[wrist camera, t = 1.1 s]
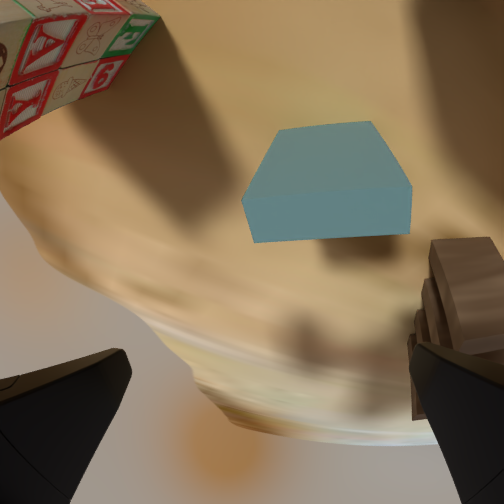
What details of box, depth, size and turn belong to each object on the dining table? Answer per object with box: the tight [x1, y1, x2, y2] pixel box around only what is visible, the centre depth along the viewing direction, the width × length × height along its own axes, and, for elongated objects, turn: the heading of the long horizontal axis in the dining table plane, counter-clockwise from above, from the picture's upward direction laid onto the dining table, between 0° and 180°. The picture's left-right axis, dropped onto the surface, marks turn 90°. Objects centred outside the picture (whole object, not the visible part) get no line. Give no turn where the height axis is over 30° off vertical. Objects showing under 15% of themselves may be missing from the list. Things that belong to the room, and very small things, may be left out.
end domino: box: [241, 121, 412, 243], centre depth 11 cm, size 2×5×8 cm, turn 104°
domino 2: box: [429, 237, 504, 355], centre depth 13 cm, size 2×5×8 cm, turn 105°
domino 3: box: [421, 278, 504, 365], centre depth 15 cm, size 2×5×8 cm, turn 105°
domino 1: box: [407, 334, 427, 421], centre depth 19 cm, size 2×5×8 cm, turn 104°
